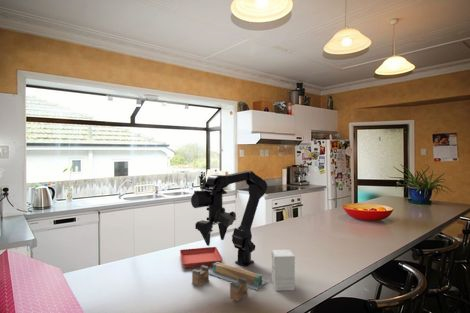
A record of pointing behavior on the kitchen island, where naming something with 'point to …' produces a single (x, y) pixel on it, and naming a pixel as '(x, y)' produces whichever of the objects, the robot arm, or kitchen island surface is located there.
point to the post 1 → (200, 275)
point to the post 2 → (238, 289)
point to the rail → (237, 273)
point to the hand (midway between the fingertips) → (215, 242)
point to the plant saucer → (200, 257)
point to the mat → (236, 280)
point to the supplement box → (283, 270)
